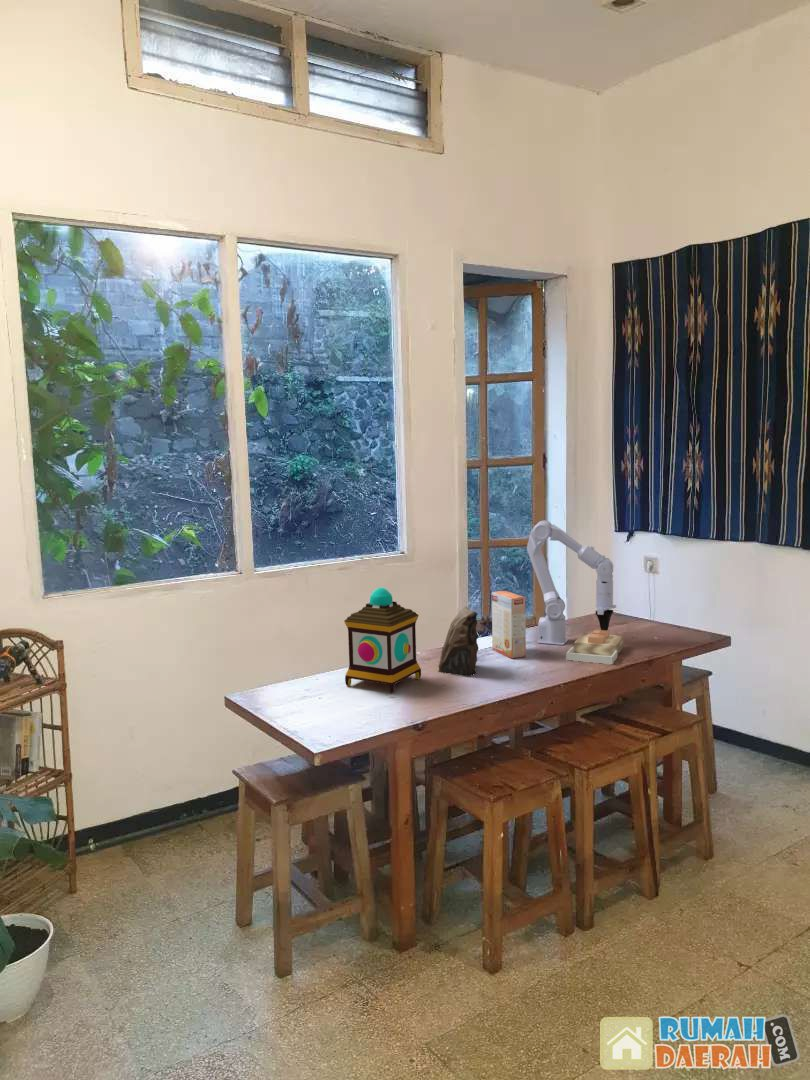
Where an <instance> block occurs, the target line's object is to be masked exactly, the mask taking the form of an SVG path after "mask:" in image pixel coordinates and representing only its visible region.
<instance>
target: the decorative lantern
mask: <svg viewBox="0 0 810 1080" xmlns="http://www.w3.org/2000/svg"><path fill="white" fill-rule="evenodd" d="M418 618H419V614H418V613H417V612H416V611H413V609H410V608H405V607H403V606H402V605H400V604H398V602H397V601H394V600H393V596H392V594H391V593H390V591H389V590H387V589H386V588H384V587H378V588H376V589H375V590H374V591H373V592H371V594H370V596H369V602H368V603H365V606H363V607H362V608H361V609H359V610H358V611H356V612H352V613H351V614H350V616H347V618H346V619H344V624H345V626H346V628H347V632H348V637H347V638H348V639H347V640H348V661H349V663H348V664H349V666H348V669H347V671H346V673H345V676H344V681H345V686H346V687H350V686H351V685H352V680H358V681H362V682H363V681H364V682H370V683H376V684H377V683H378V684H383V685H386V686H387V687H388V690H389V691H388V692H389V694H394V692H395V685H396V684H397V683H400V682H401V681H403V680H405V679H407V678H409V677H411V676H412V675H415V679H416V680H420V679H421V676H422V669H421V667H420V664H419V662H418V661H417V645H416V644H417V641H416V640H417V637H416V636H417V634H416V625H417V621H418Z"/></svg>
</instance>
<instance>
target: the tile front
mask: <svg viewBox="0 0 810 1080" xmlns="http://www.w3.org/2000/svg"><path fill="white" fill-rule="evenodd" d="M605 641H606V635H603V634H590V635H589V637H588V643H597V644H603V643H604V642H605Z"/></svg>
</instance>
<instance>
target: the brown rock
mask: <svg viewBox="0 0 810 1080" xmlns="http://www.w3.org/2000/svg"><path fill="white" fill-rule="evenodd" d="M478 615H479V614H478V613H477V612H476V611H474V610H472V609H470V608H469V607H468V606H465V605H464V607H463V608H462V609H461V610H460V611H459V612H458V613H457V614H456V615H455V617H454V618H453V620H452V621H451V623H450V626H449V628H448V630H447V631H448V632H447V634H446V638H445V641H444V644H443V646H442V648H441V653H440V657H439V659H440V660H439V662H438V671H437V672H438V673H442V672H443V674H448V673H451V674H450V675H454V674H457V675H456V676H461V675H462V676H461V677H472V676H474V675H476V674H477V673H476V671H475V670H476V667H477V666H476V665H477V662H478V652H479V645H478V641H477V640H478V635H477V625H478V619H477V617H478ZM475 673H476V674H475ZM473 674H474V675H473ZM471 675H472V676H471Z"/></svg>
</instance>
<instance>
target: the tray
mask: <svg viewBox="0 0 810 1080" xmlns="http://www.w3.org/2000/svg"><path fill="white" fill-rule="evenodd" d="M617 659H618V655H617V651H616V650H615V652H614V653H613V654H612V656H604V655H593V654H582V653H574V646H571V647H570V648H569V649H568V651H566V653H565V661H568V660H573V661H572V662H578V661H581V663H589V662H593V664H599V663H603V664H602V665H610V664H612V665H614V664H615V662H614V661H616V660H617ZM582 661H583V662H582Z"/></svg>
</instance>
